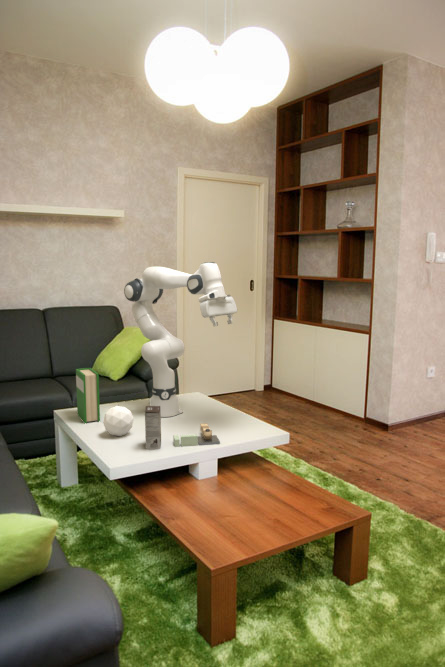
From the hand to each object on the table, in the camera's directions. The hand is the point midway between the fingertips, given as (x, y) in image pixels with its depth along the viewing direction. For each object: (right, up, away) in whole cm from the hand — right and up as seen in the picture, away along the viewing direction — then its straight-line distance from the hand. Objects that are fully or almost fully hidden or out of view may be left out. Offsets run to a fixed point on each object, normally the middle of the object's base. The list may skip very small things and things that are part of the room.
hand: (223, 325), depth 241 cm
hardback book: (-68, -47, +24) cm, 86 cm away
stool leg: (-8, -49, -7) cm, 50 cm away
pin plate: (-7, -51, -12) cm, 52 cm away
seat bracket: (-16, -51, -15) cm, 56 cm away
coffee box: (-30, -52, -17) cm, 62 cm away
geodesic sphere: (-47, -50, -2) cm, 69 cm away
